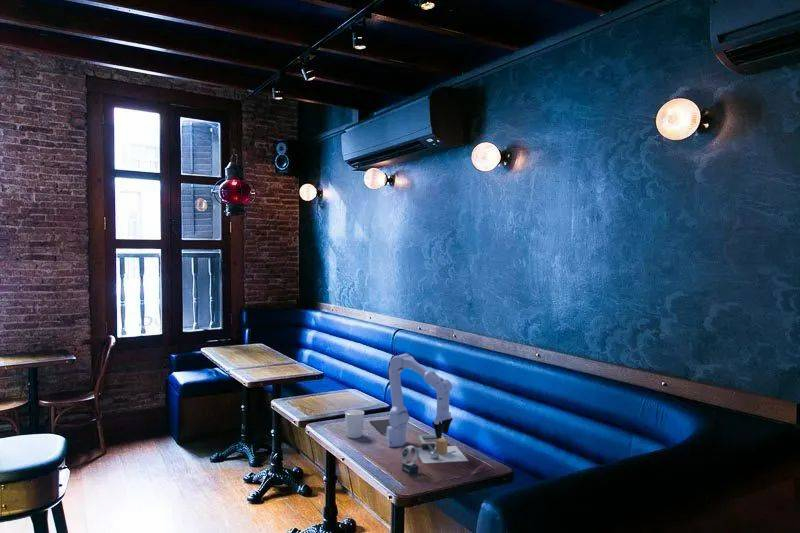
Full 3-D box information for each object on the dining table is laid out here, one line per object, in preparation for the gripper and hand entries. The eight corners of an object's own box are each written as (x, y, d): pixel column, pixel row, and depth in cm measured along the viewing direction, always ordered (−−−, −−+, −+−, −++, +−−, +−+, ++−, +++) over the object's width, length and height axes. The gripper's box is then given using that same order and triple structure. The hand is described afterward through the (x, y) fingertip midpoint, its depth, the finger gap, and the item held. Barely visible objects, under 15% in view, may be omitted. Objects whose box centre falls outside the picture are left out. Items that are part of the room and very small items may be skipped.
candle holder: (348, 439, 271) (349, 416, 271) (341, 433, 280) (342, 410, 280) (366, 437, 276) (367, 413, 276) (359, 431, 285) (359, 408, 284)
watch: (398, 471, 234) (399, 446, 233) (413, 467, 238) (414, 442, 238) (406, 476, 229) (406, 450, 229) (421, 472, 234) (421, 446, 234)
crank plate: (423, 465, 241) (423, 463, 241) (413, 449, 260) (413, 447, 260) (468, 462, 245) (468, 460, 245) (455, 447, 264) (455, 445, 264)
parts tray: (424, 448, 262) (424, 443, 262) (418, 440, 273) (418, 435, 273) (447, 447, 264) (447, 442, 264) (440, 439, 276) (441, 434, 276)
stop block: (443, 454, 252) (444, 442, 252) (435, 453, 254) (436, 440, 253) (447, 452, 255) (447, 439, 255) (439, 450, 257) (439, 437, 257)
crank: (442, 458, 246) (442, 452, 246) (429, 459, 245) (429, 452, 245) (433, 447, 260) (433, 441, 260) (421, 447, 259) (421, 441, 259)
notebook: (369, 423, 299) (382, 436, 279) (369, 420, 299) (382, 433, 279) (391, 421, 304) (405, 433, 284) (391, 418, 304) (405, 430, 284)
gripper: (444, 411, 245) (443, 441, 246) (456, 404, 258) (456, 432, 259) (430, 409, 249) (429, 438, 249) (443, 402, 262) (442, 430, 262)
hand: (442, 435), depth 254 cm, fingers open, 7 cm apart
